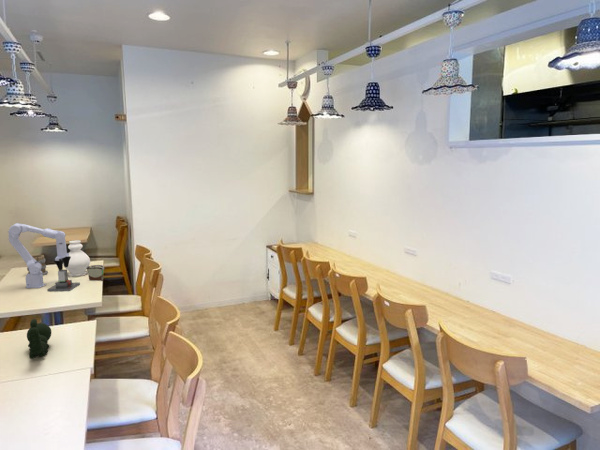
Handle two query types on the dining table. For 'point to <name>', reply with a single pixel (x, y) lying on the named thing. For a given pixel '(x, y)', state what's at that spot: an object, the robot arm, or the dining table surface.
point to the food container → (95, 272)
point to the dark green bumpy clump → (38, 338)
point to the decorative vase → (77, 259)
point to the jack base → (63, 286)
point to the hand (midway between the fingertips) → (63, 268)
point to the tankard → (42, 261)
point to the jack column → (62, 275)
